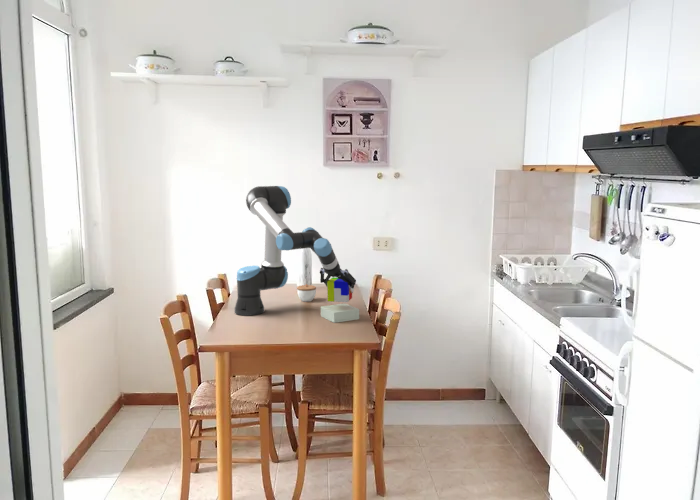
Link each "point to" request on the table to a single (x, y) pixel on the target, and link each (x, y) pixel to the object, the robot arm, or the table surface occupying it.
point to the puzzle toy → (338, 290)
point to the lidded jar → (306, 292)
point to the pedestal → (339, 313)
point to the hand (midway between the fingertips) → (342, 290)
